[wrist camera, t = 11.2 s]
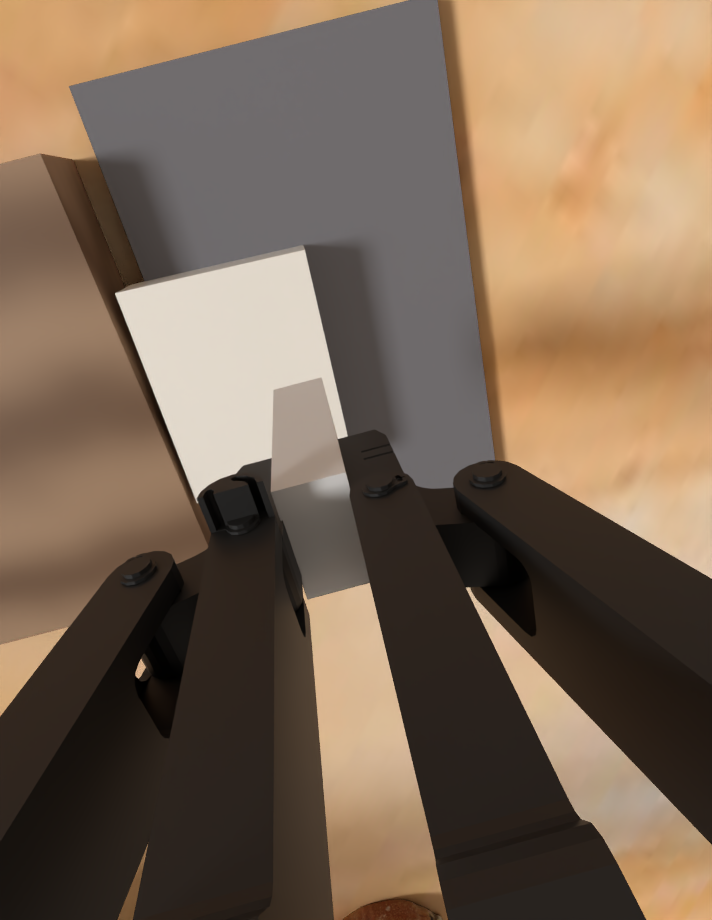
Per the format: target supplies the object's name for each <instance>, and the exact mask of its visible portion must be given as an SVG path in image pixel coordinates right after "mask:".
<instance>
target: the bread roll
mask: <svg viewBox="0 0 712 920" xmlns="http://www.w3.org/2000/svg"><path fill="white" fill-rule="evenodd" d="M343 920H442V918H441V916H439V915H436V914H434V913H432V912H431V911H429V910H428V909H426V908H425V907H422V906H419V905H416V904H414V903H413V902H411V901H407V900H402V899H393V900H386V901H380V902H376V903H372V904H369V905H366V906H363V907H360V908H359V909H357V910H356V911H354V912H352V913H351V914H350V915H349V916H347V917H345V918H344V919H343Z"/></svg>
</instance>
